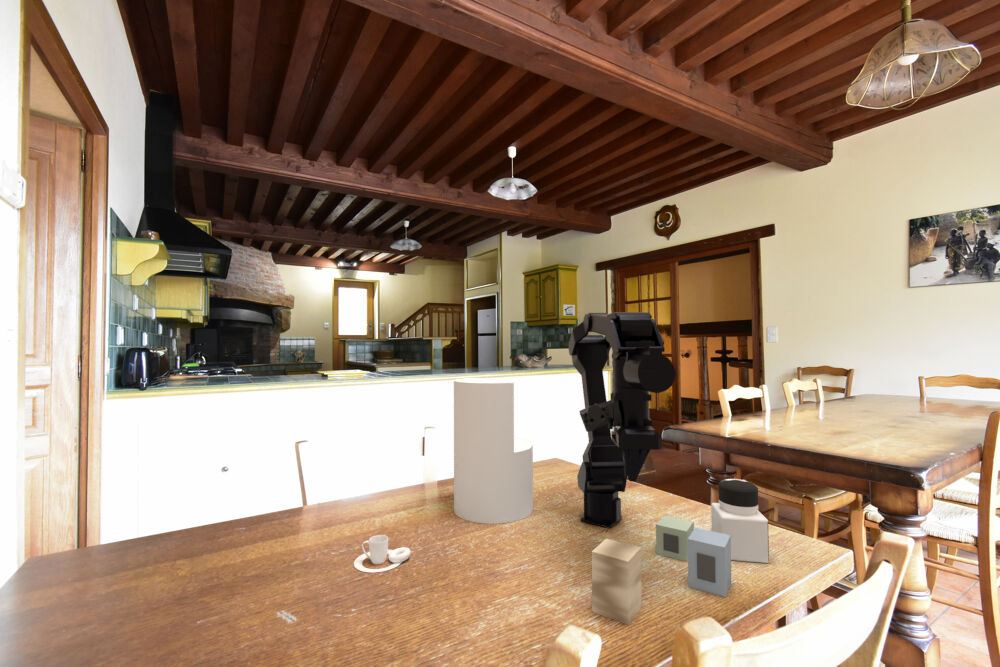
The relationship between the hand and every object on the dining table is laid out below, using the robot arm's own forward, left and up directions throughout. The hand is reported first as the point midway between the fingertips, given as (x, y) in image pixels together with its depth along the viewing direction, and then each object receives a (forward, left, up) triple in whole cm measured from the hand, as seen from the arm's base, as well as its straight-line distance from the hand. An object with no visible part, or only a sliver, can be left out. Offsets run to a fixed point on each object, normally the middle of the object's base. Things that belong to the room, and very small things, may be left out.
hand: (632, 480), depth 76 cm
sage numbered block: (+5, +7, -13) cm, 16 cm away
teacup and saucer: (-31, -25, -14) cm, 43 cm away
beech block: (+3, -15, -13) cm, 20 cm away
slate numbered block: (+12, -1, -13) cm, 18 cm away
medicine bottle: (+14, +13, -13) cm, 23 cm away
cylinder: (-33, +6, -13) cm, 36 cm away
